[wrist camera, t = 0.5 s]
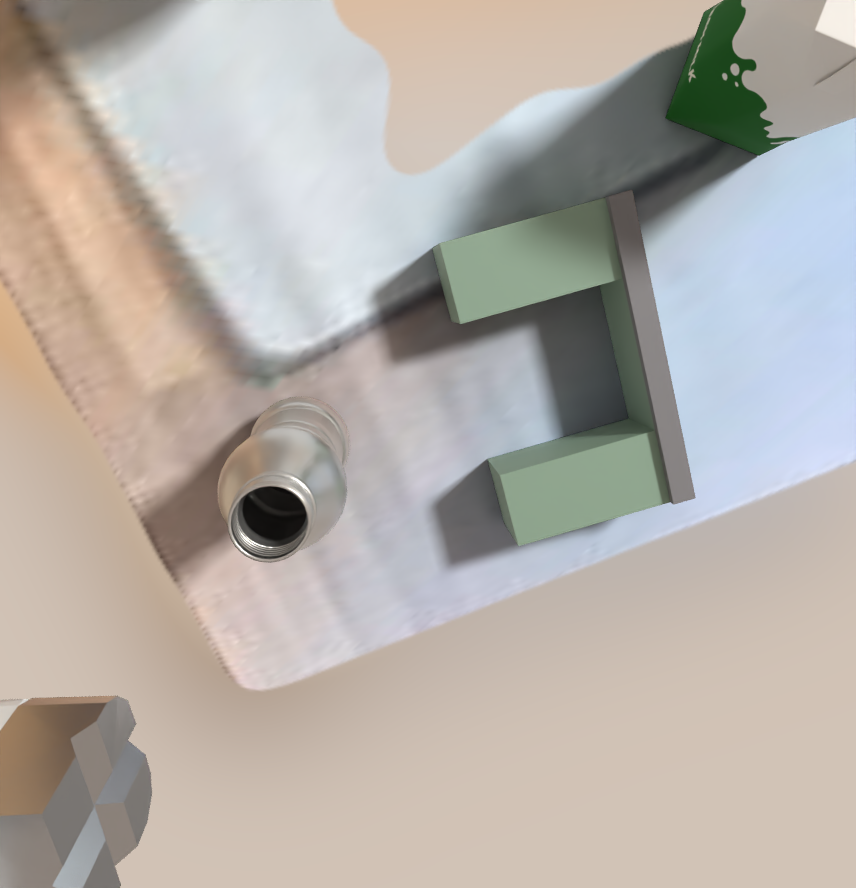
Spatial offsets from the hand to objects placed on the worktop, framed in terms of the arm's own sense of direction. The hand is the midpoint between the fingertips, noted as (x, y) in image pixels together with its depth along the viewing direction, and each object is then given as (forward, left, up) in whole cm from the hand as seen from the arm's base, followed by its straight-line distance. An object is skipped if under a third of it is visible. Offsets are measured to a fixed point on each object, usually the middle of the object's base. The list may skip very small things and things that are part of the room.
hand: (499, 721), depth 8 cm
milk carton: (-11, +27, -45) cm, 54 cm away
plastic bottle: (+4, -7, -45) cm, 46 cm away
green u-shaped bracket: (+4, +11, -45) cm, 47 cm away
